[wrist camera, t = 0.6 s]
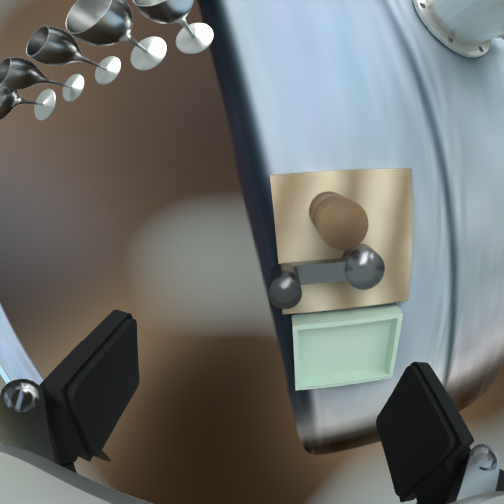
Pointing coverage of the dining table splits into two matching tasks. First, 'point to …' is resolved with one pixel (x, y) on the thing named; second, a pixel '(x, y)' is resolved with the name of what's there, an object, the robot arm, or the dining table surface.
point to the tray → (345, 346)
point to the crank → (325, 274)
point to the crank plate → (378, 238)
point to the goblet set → (100, 34)
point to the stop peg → (338, 220)
